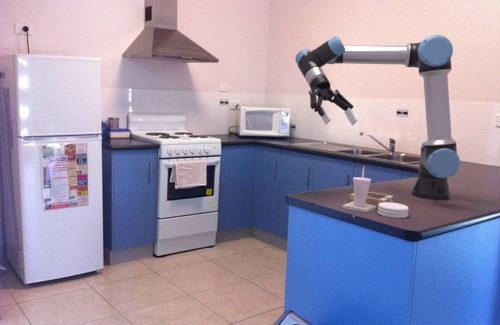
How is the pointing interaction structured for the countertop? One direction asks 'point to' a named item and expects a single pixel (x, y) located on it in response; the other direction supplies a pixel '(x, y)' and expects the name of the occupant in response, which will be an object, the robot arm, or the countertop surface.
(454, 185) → the countertop surface
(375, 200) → the square wooden frame
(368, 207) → the tile
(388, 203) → the coaster
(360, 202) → the smoothie
